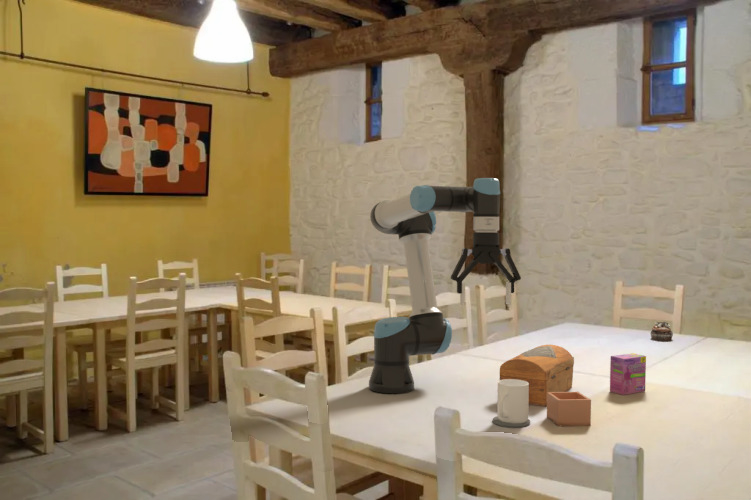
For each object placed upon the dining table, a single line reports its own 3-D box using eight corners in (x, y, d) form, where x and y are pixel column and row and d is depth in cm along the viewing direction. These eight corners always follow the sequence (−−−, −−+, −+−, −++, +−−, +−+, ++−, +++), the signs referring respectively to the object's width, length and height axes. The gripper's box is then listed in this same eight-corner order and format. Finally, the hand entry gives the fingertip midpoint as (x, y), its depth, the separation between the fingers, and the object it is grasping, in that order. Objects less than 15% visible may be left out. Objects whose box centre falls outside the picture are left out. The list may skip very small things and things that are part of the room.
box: (623, 395, 218) (623, 358, 218) (609, 391, 223) (609, 355, 223) (646, 391, 223) (646, 355, 223) (632, 388, 228) (632, 352, 228)
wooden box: (527, 381, 238) (527, 342, 237) (575, 387, 229) (575, 346, 229) (494, 400, 212) (494, 355, 212) (546, 407, 204) (546, 361, 203)
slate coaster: (498, 428, 182) (498, 425, 182) (488, 417, 192) (488, 415, 192) (535, 427, 183) (535, 425, 183) (523, 416, 193) (523, 414, 193)
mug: (512, 429, 179) (513, 390, 178) (484, 423, 184) (485, 385, 183) (533, 419, 188) (534, 382, 187) (506, 414, 193) (506, 377, 193)
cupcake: (646, 342, 321) (646, 320, 321) (665, 341, 322) (666, 320, 322) (656, 345, 312) (657, 323, 311) (676, 345, 313) (677, 323, 312)
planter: (558, 426, 184) (558, 400, 183) (546, 416, 193) (547, 392, 192) (590, 425, 184) (591, 399, 184) (577, 416, 193) (578, 391, 193)
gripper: (446, 231, 194) (445, 306, 195) (532, 232, 196) (531, 305, 197) (441, 231, 202) (440, 303, 202) (524, 231, 204) (523, 302, 205)
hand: (485, 304), depth 200 cm, fingers open, 13 cm apart
